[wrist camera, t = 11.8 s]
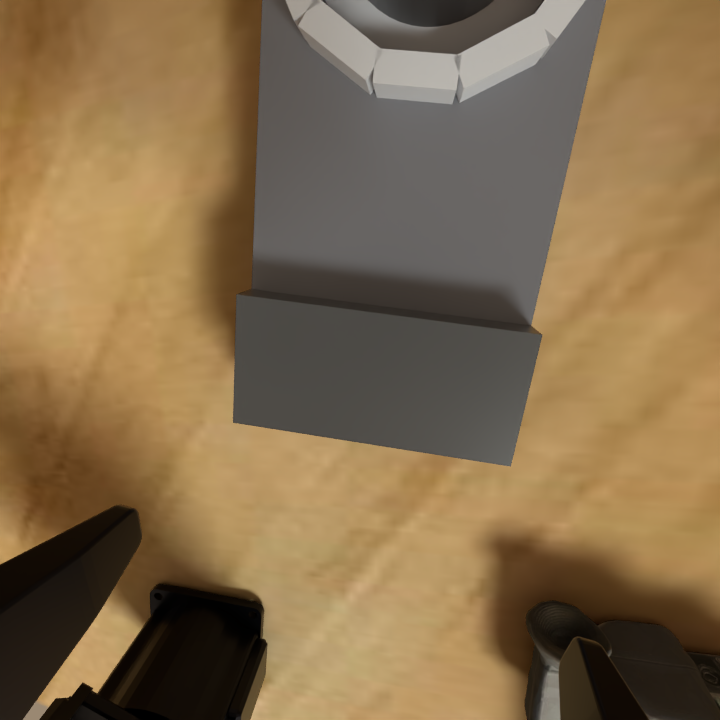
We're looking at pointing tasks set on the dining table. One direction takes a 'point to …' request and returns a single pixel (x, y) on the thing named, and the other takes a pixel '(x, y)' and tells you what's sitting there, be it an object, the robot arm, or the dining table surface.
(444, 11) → the dark grey cylinder
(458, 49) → the grey stepped base
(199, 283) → the dining table surface
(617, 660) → the camcorder
